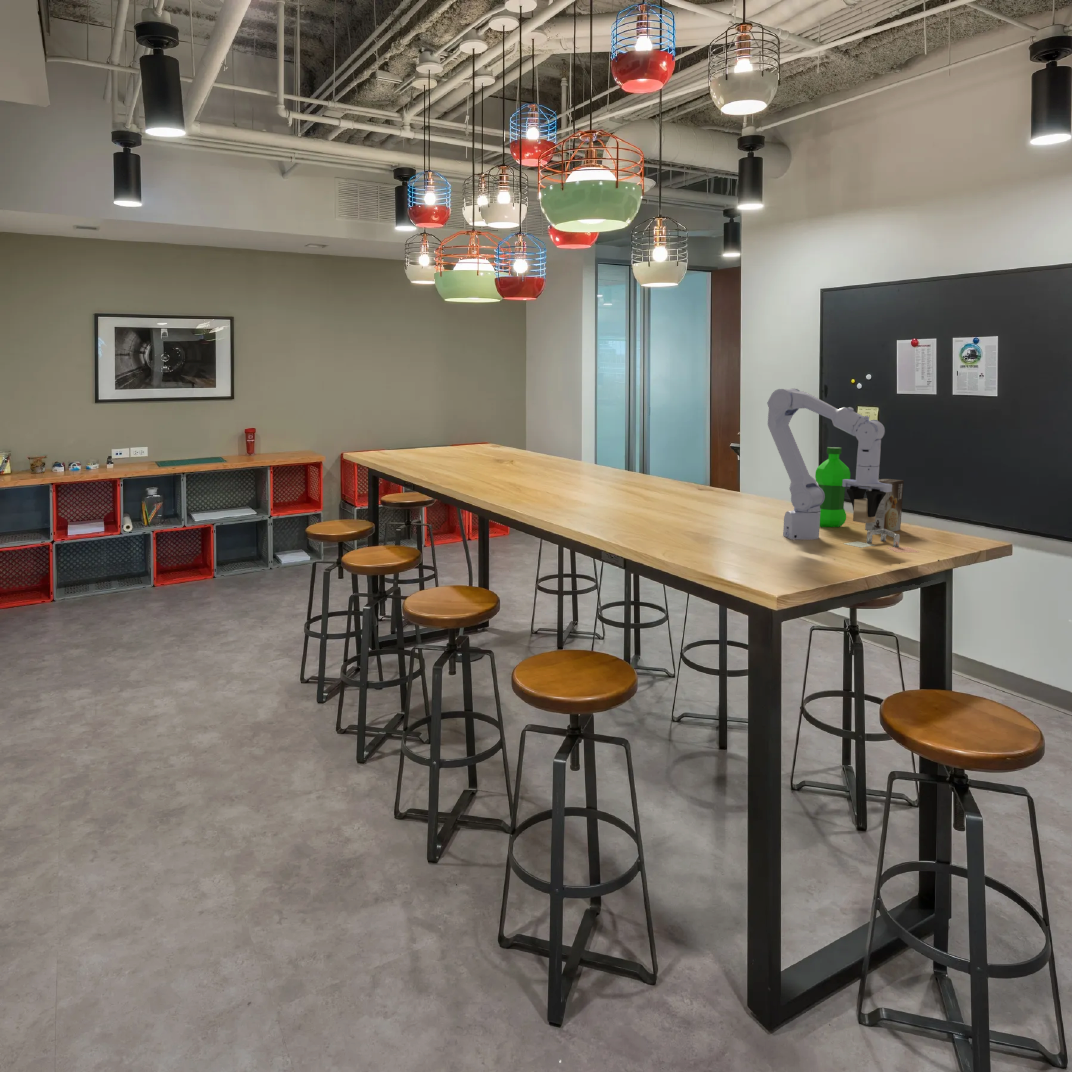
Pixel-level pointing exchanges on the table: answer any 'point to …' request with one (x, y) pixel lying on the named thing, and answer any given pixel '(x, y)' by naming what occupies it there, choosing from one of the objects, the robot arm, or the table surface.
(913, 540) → the table surface
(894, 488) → the coffee box
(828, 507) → the plastic bottle
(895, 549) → the board
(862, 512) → the birch block
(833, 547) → the table surface
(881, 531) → the bent wire
